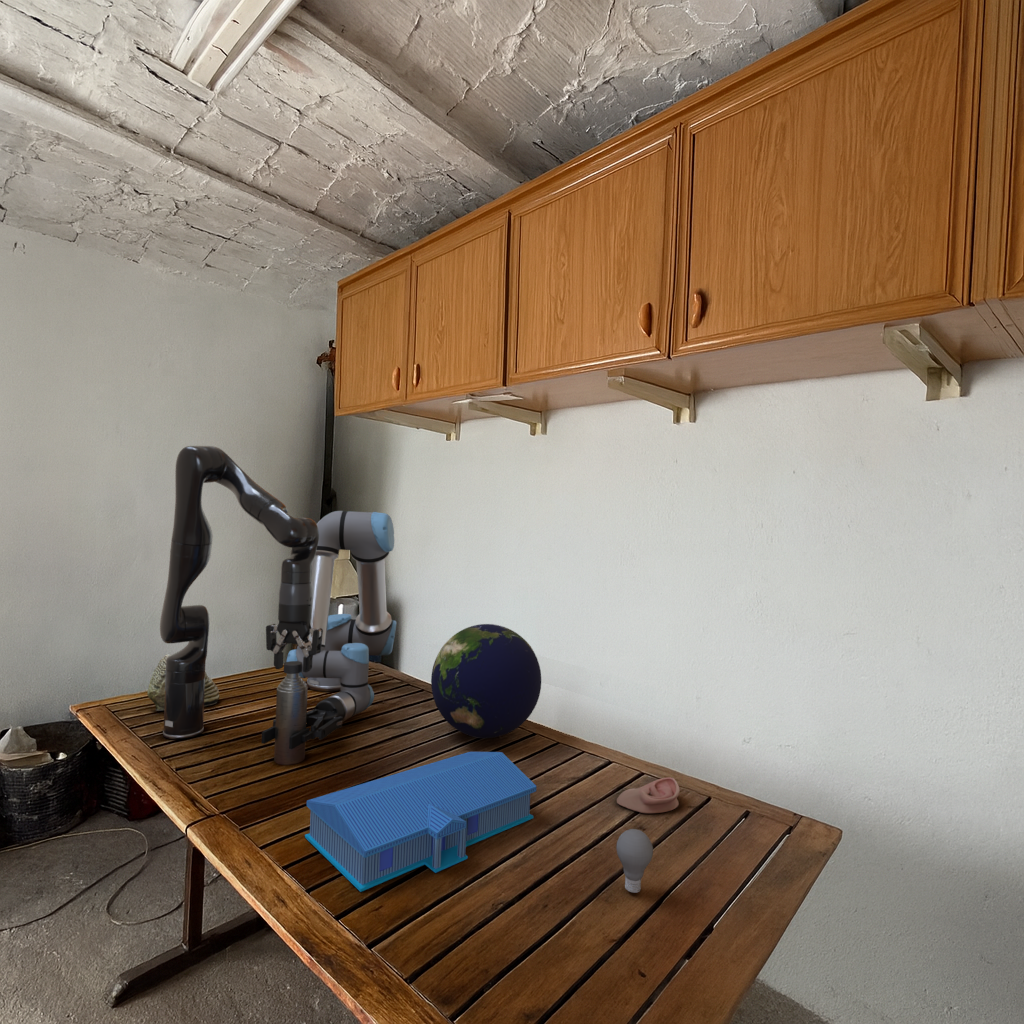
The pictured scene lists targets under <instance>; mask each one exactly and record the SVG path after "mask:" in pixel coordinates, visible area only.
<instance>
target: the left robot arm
mask: <svg viewBox="0 0 1024 1024" xmlns="http://www.w3.org/2000/svg"><path fill="white" fill-rule="evenodd" d="M174 471H175V473H174V474H175V476H174V477H175V478H174V479H175V503H174V504H175V505H174V516H173V526H172V533H171V539H170V540H171V542H170V549H169V564H168V574H167V583H166V588H165V594H164V600H163V603H162V609H161V615H160V619H159V620H160V621H159V634H160V638H161V640H162V641H163V642H164V644H179V643H187V644H186V645H185V646H184V647H183V648H181V649H180V650H179V651H177V652H175V653H172V654H170V655H171V656H169V657H168V658H167V660H166V674H165V705H164V710H163V730H162V737H164V738H166V739H169V740H185V739H190V738H191V739H192V738H194V737H197V736H199V735H202V734H203V732H204V730H205V729H204V726H205V725H204V722H205V721H204V718H205V706H204V693H205V672H206V664H207V663H206V662H207V661H206V660H207V656H208V646H209V645H208V643H209V634H210V613H209V610H208V609H207V607H206V606H205V605H203V604H192V605H183V603H184V599H185V597H186V594H187V592H188V590H189V589H190V587H191V586H192V585H193V583H194V582H195V581H196V580H197V578H198V577H199V576H200V575H201V574H202V572H203V571H204V570H205V569H206V567H207V566H208V564H209V562H210V560H211V556H212V555H211V554H212V547H213V546H212V545H213V537H214V535H213V529H212V526H211V525H210V522H209V520H208V518H207V516H206V514H205V512H204V508H203V504H202V501H203V500H202V499H203V498H202V497H203V487H204V484H209V483H210V484H211V483H216V484H219V485H220V486H223V487H225V488H227V490H229V491H231V492H232V494H233V495H234V496H235V498H236V500H237V502H238V504H239V506H240V507H241V509H242V510H243V511H244V512H245V513H246V514H247V515H248V516H250V517H251V518H252V519H253V520H255V521H256V522H258V523H259V524H261V525H262V526H263V527H264V528H265V529H266V531H267V532H268V533H269V534H270V535H271V537H272V538H273V539H274V541H276V543H279V544H280V545H282V546H283V547H286V548H289V549H290V548H291V549H290V554H289V555H288V556H287V557H285V558H284V559H283V560H282V561H281V565H280V585H279V590H278V608H277V609H278V610H277V611H278V612H277V616H278V617H277V620H278V624H276V623H271V624H268V625H266V626H265V643H266V645H265V647H266V650H267V651H270V652H272V653H273V666H274V669H275V670H280V669H283V668H284V650H285V648H286V646H287V645H288V644H293V645H297V646H299V648H300V649H302V651H303V654H304V656H305V657H303V672H309V671H310V669H312V660H313V655H316V654H318V653H320V652H321V645H322V635H323V629H322V628H320V629H314V628H312V627H311V625H310V621H311V611H312V582H311V581H312V563H313V560H314V557H315V553H316V550H317V546H318V542H319V530H318V526H317V522H316V521H315V520H313V519H312V518H310V517H293V516H291V515H290V514H288V513H289V512H288V508H287V506H286V505H285V504H284V503H283V502H282V501H280V500H279V499H278V498H276V497H275V496H274V495H272V494H271V493H270V492H268V491H267V490H265V489H264V488H263V487H262V486H260V485H259V484H258V483H257V482H255V481H254V479H252V478H251V477H250V476H249V475H248V474H247V473H246V472H245V471H244V470H243V469H242V468H241V467H240V466H239V465H238V464H237V463H236V462H235V461H234V459H232V458H231V456H229V454H227V453H226V452H225V451H224V450H223V449H221V448H220V447H218V446H214V445H187V446H184V447H183V448H182V449H180V450H179V452H178V454H177V457H176V460H175V470H174ZM277 633H278V634H279V635H280V636H279V638H278V639H277V637H278V636H277ZM310 633H311V637H312V638H313V639H312V646H311V641H310V639H309V637H308V636H309V634H310ZM304 642H305V643H304Z"/></svg>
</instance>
